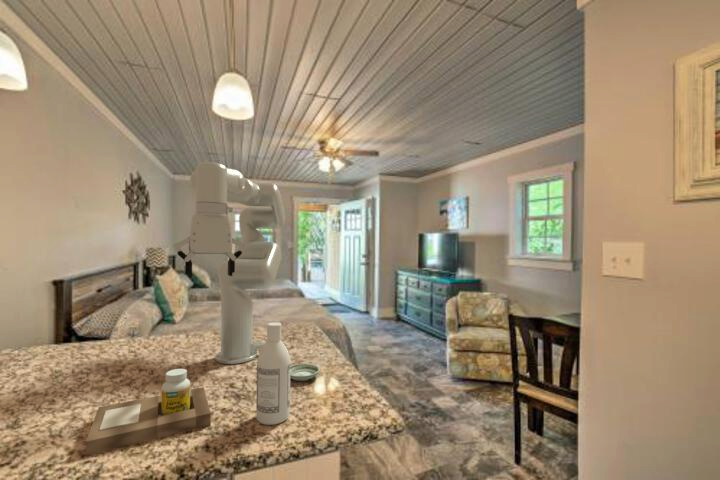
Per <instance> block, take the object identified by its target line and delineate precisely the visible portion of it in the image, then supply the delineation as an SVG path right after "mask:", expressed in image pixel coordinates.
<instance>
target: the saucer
mask: <svg viewBox="0 0 720 480" xmlns="http://www.w3.org/2000/svg"><path fill="white" fill-rule="evenodd" d="M320 371H321V368H320V367H319V366H318V365H315V364H313V363H312V364H311V363H298V364H292V365H290V379H292V380H294V381H295V382H296V381H297V382H307V381H310V380H311V379H314V378H315V377H316V376H317V375H318V374H319V373H320ZM309 379H310V380H309Z"/></svg>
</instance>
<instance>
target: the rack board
mask: <svg viewBox="0 0 720 480" xmlns="http://www.w3.org/2000/svg"><path fill="white" fill-rule="evenodd" d="M161 412H162V394H160V395H156V396H155V395H154V396H150V397H149V396H148V397H145V398H140V399H135V400H129V401H124V402H119V403H113V404H108V405H103V406H102V405H101V406H98V409H97V411H96V413H95V416H94V419H93V422H92V425H91V427H90V429H89V432H88V435H87V437H86V440H85V457H88V456H92V455H96V454H99V453H104V452H107V451H112V450H116V449H120V448H125V447H128V446H132V445H136V444H140V443H145V442H149V441H152V440H153V441H154V440H156V439H161V438H165V437H170V436H174V435H178V434H181V433H186V432H188V431H194V430H198V429H202V428H206V427H210V426H211V425H212V424H211V422H212V421H211V417H212V416H211V415H212V412H211V409H210V405H209V402H208V398H207V395H206V391H205V388H204V386H203V387H197V388H196V387H195V388H193V389H191V388H190V410H185V411H181V412H176V413H171V414H167V415H162V416H161V415H160V414H161Z"/></svg>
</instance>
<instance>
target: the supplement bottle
mask: <svg viewBox="0 0 720 480" xmlns="http://www.w3.org/2000/svg"><path fill="white" fill-rule="evenodd" d="M164 377H165V378H164V379H165V382H164V383H163V384H162V386H161V395H162V412H161V415H160V416H162V415H167V414H171V413H176V412H181V411H185V410H190V409H191V407H190V390H191V381H190V380H189V379H188V378H187V377H188V370H187V369H185V368H174V369H170V370H168V371H167V372H165V376H164Z"/></svg>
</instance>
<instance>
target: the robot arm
mask: <svg viewBox="0 0 720 480" xmlns="http://www.w3.org/2000/svg"><path fill="white" fill-rule="evenodd" d="M189 183H190V186H191V187H190V188H191V189H192V191H193V192H194V193H195V208H194V209H195V211H194V213H195V214H193V215H191V218H190V219H191V220H190V224H189V234H188V237H187V238H184V239H182V240H180V241H177V242H175V243H173V245H172V247H173V248H174V251H176V254H177V255H178V257H180V258H181V259H182V260H183V261H185V262H184V263H185V266H184V267H185V268H184V270H185V271H184V272H185V275H187V278H189V279H191V278H192V277H193V262H192V259H193V258H194V257H195V255H226V257H227V258H228V259H227V260H225V261H223V262H221V264H220V265H219V267H218V271H217V274H218V283H219V288H220V300H221V301H220V306H221V308H220V352H218V353H216V355H215V356H214V357H215V361H216V362H218V363H219V364H222V365H223V364H224V365H237V364H241V363H242V364H243V363H247V362H251V361H252V360H255V359H256V358H257V355H258V350H262V348H263V347H264V345H265V344H266V342H261V341H257V342H255V341H253V307H254V305H253V299H252V297H251V296H250V294H249V293H248V291H247V290H265V289H270V288H271V287H272V286H273V285H274V283H275V280H276V277H277V274H278V271H279V267H280V264H281V260H282V252H281V251H282V249H281V248H280V245H279V244H278V243H277V242H274V241H266V239H265V237H264V236H263V234H262V232H261V231H259V230H278V229H282V228H283V227H284V226H285V224H286V212H285V208H284V202H283V198H282V194H281V192H280V188H278V186H277V185H276V183H273V182H271V183H270V182H264V183H263V182H253V181H251V180H249V179H248V178H247V177H244V175H243V174H242V172H240V171H239V170H237V169H235V168H231V167H230V168H229V167H227V166H225V165H224V164H223V163H218V162H214V161H203V162H199V163H198V164H197V165H196V167H195V170H194V171H193V172H192V173H191V175H190V179H189ZM228 202H230V203H238V204H241V205H244V206H246V207H245V208H243V209H242V210H241V211H240V214H239V218H238V219H239V220H238V221H239V231H240V235H241V238H240V239H239V240H237V239H236V238H234V237H232V236H233V234H232V233H233V232H232V226H231V225H232V224H231V223H232V222H231V219H230V218H231V217H230V216H229V215H228V214H230V213H234V212H233V210H234V209H233V207H230V206H229V205H228ZM247 206H248V207H247ZM187 244H188V251H189V252H188V253H187V254H186V253H185V252H183V250H182V248H181V247H182V246H185V245H187ZM233 245H235V246H236V247H235V249H234V252H232V251H233Z"/></svg>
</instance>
